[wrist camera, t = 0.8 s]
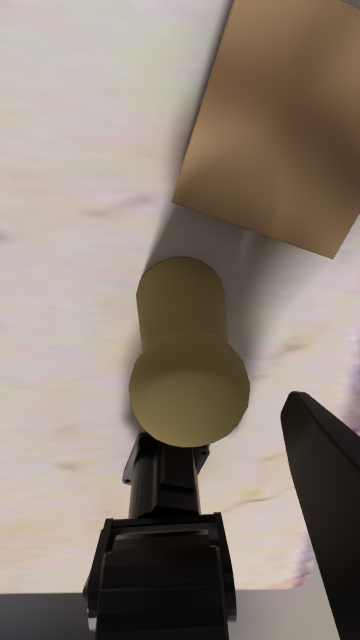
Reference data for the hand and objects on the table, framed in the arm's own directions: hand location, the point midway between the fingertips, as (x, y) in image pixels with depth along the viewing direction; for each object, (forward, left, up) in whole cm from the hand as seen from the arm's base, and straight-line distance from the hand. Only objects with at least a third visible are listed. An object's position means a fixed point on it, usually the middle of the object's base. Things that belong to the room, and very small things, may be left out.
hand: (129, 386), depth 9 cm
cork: (-3, -3, -14) cm, 14 cm away
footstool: (+8, -5, -13) cm, 16 cm away
